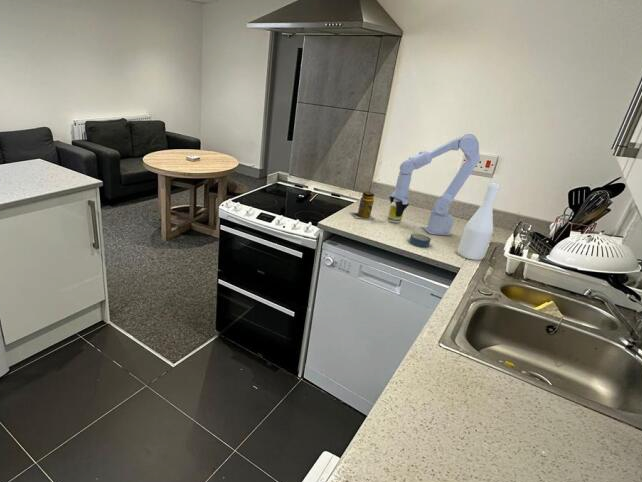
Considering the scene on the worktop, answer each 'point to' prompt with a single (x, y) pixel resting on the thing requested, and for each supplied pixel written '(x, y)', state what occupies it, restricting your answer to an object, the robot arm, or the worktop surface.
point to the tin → (419, 240)
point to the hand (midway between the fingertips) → (395, 214)
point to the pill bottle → (394, 212)
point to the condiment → (365, 206)
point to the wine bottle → (479, 228)
